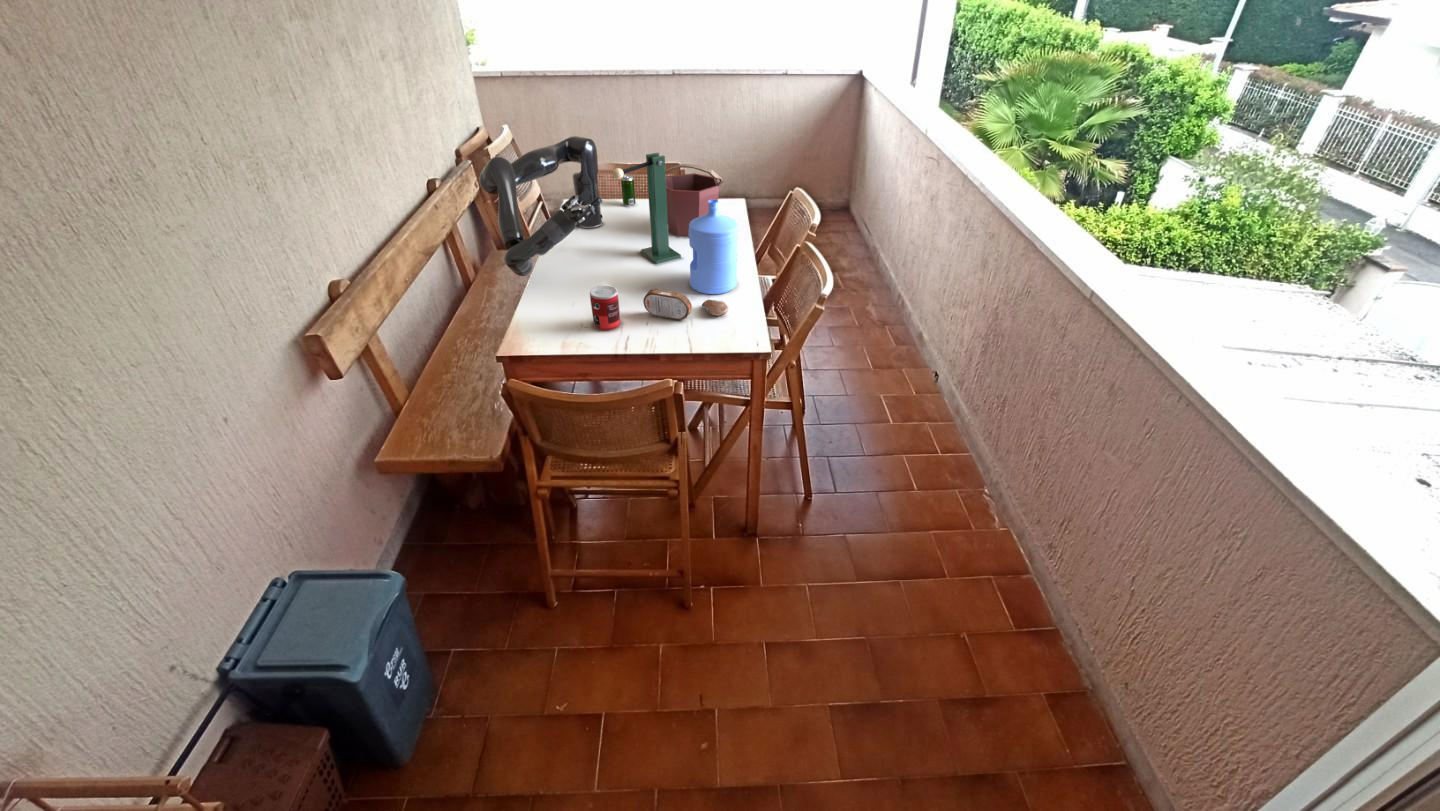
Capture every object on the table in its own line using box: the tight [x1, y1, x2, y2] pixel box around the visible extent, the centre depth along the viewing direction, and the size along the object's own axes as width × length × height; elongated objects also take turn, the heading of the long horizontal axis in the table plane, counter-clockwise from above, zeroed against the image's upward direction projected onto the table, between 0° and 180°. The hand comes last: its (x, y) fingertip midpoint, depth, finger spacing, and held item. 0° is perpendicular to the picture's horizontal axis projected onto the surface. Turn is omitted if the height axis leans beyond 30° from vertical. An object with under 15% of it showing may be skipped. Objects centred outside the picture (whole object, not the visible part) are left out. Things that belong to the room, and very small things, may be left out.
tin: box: [642, 288, 693, 321], centre depth 193 cm, size 15×3×8 cm, turn 71°
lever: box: [612, 156, 657, 180], centre depth 210 cm, size 17×3×3 cm, turn 123°
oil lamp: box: [701, 299, 729, 317], centre depth 197 cm, size 9×4×8 cm
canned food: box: [589, 285, 621, 331], centre depth 189 cm, size 8×8×11 cm
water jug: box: [688, 199, 739, 295], centre depth 206 cm, size 16×16×28 cm
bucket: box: [665, 163, 724, 238], centre depth 246 cm, size 24×22×25 cm
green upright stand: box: [640, 152, 682, 265], centre depth 222 cm, size 10×12×35 cm
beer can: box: [620, 174, 636, 208], centre depth 273 cm, size 5×5×12 cm
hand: (594, 194), depth 207 cm, fingers open, 8 cm apart
